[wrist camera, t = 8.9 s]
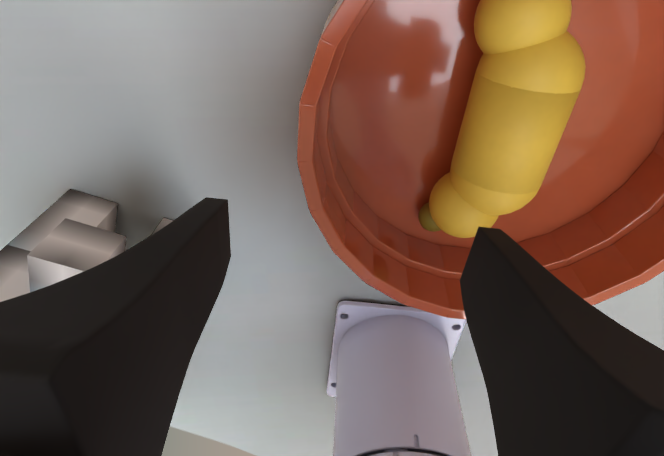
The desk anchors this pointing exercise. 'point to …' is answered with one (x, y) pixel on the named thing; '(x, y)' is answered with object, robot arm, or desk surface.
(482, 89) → the banana
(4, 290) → the toy llama
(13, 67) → the desk surface
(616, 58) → the bowl
